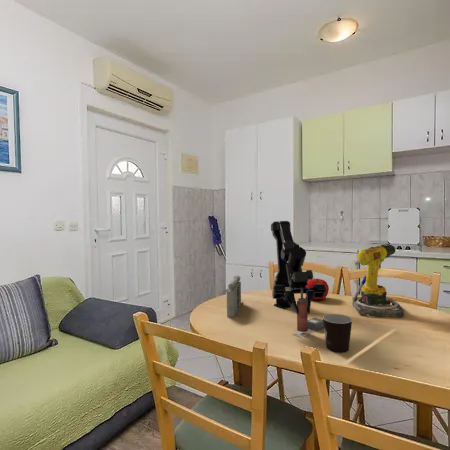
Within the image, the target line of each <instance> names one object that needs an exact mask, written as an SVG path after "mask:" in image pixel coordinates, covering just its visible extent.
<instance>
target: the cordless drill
mask: <svg viewBox="0 0 450 450" xmlns="http://www.w3.org/2000/svg"><path fill="white" fill-rule="evenodd" d="M395 253H396V247H395V246H394V245H392V244H387V245H385V244H381V245H376V246H371V247H369V248H367V249H361V250H360V251H359V252H358V253H357V255H356V258H357V261H358V262H359V264H360V265H361V266H367V269H366V274H365V275H364V276H363V279H362V280H361V283H360V285H359V286H358V287H357V289H356V292H355V293H354V295H353V297H352V300H351V301H352V307H354V308H355V310H356V312H358V314H359V315H362V316H363V315H364V316H365V315H369V317H375V318H384V317H387V316H390V317H392V316H393V317H397V318H402V317H403V318H404V315H405V310H404V308H403V306H402V305H400V304H399V303H398V302H397V301H396V300H395V299H393V298H389V297H387V289H386V287H385V286H383V285H380V284H378V278H379V277H378V273H379V270H380V269H381V268H382V267H381V265H382V263H383V262H385V259H386V258H389V257H390V256H392V255H394V254H395ZM359 294H360V295H361V296H359ZM379 305H382V306H379ZM392 305H393V306H392Z"/></svg>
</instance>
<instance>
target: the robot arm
mask: <svg viewBox="0 0 450 450" xmlns="http://www.w3.org/2000/svg"><path fill="white" fill-rule="evenodd" d="M291 229H292V228H291V222H290V221H289V220H279V221H277V220H276V221H273V222H272V223H271V224H270V232H272V233H271V234H272V236H273V238H274V240H275V241H276V256H277V257H276V258H277V269H278V270H277V272H276V275H275V277H274V278H275V279H274V281H273V286H272V291H271V292H272V293H271V294H272V299H274V300H275V303H274V304H273V306H275V307H277V308H282V309H287V308H290V307H291V308H292V309H293V310H294V312H295V313H296V314H297V313H298V307H297V301H296V298H295V295H296V294H297V295H301V289H303V294H305V297H304V298H305V299H306V301H307V309H308V314H310V312H311V306H312V305H311V303H312V301H314V300H313V299H314V298H322V297H324V295H325V292H326V290H327V289H326V286H325V285H324V284H314V285H313V288H306V286H307V284H308V283H307V281H309V280H312V279H314V273H313V271H312V269H307V270H306V271H303V265H304V263H305V259H306V256H307V251H306V250H305V249H304V248H303V247H301V246H300V245H299V244H298V243H296V242H295V241H294V238H293V234H292V231H291Z"/></svg>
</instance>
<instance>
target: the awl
mask: <svg viewBox="0 0 450 450" xmlns="http://www.w3.org/2000/svg"><path fill="white" fill-rule="evenodd" d="M305 298H306V297H304V293H303V289H301V294H300V297H299V298H297V301H296V304H297V307H298V313H296V331H297V332H299V331H300V332H307V331H308V320H309V319H308V318H309V316H308V314H309V313H308V309H307V301H306V299H305Z"/></svg>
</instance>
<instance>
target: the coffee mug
mask: <svg viewBox="0 0 450 450" xmlns="http://www.w3.org/2000/svg"><path fill="white" fill-rule="evenodd" d="M322 320H323V324H324V327H323V330H324V339H325V345H326V349H327V351H330V352H333V353H337V354H343V353H348V352H349V349H350V343H351V341H350V340H351V335H352V334H351V333H352V325H353V319H352V318H351V317H350V316H347V315H344V314H338V313H329V314H324V315H323V316H322Z"/></svg>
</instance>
